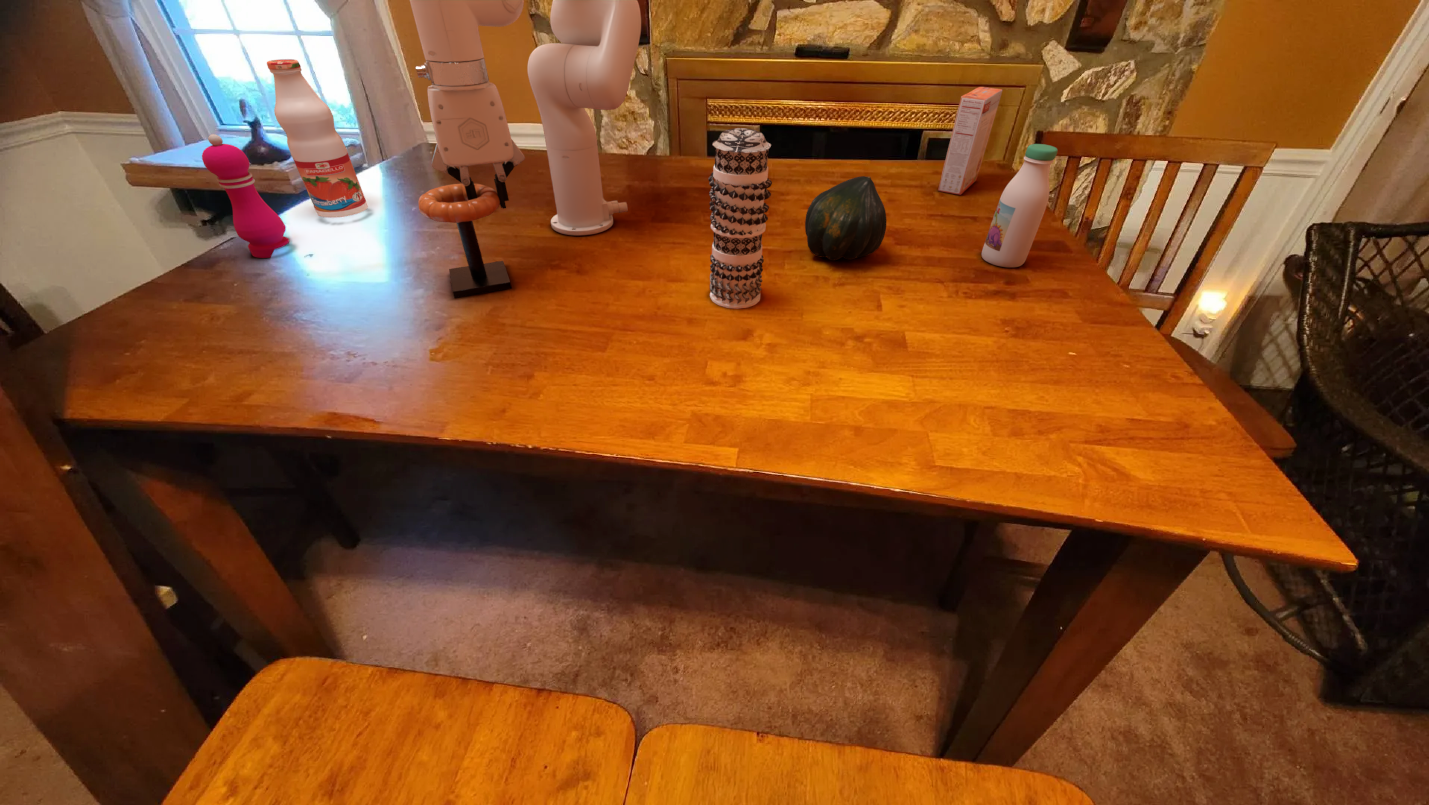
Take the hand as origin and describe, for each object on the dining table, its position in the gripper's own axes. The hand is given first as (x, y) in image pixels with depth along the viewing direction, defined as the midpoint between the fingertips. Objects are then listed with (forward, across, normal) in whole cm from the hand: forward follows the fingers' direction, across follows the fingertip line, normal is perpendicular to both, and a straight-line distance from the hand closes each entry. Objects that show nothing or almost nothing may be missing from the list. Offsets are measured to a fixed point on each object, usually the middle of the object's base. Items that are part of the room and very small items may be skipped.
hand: (490, 206), depth 88 cm
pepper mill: (+13, -38, +27) cm, 49 cm away
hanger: (+12, -4, 0) cm, 13 cm away
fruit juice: (+13, -27, +42) cm, 52 cm away
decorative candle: (+13, +34, -21) cm, 42 cm away
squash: (+12, +60, -13) cm, 62 cm away
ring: (-1, -4, 0) cm, 4 cm away
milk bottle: (+12, +87, -27) cm, 92 cm away
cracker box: (+12, +110, +10) cm, 111 cm away
